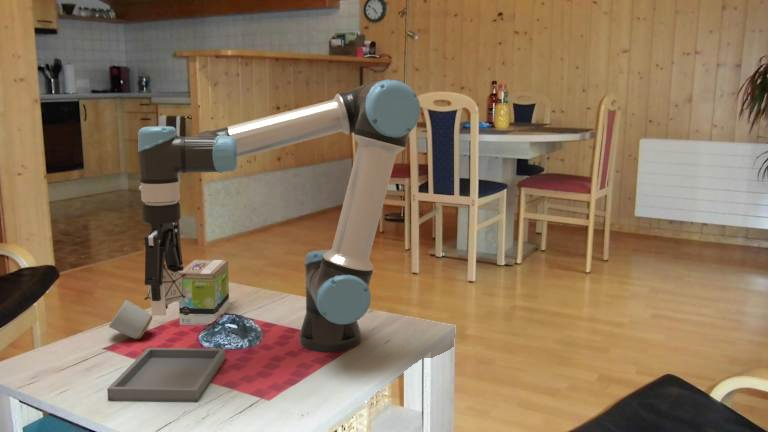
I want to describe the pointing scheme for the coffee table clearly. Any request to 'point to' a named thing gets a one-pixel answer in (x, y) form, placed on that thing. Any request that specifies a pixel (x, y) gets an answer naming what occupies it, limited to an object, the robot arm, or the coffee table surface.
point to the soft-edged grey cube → (131, 320)
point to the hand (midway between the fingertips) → (166, 307)
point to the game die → (171, 286)
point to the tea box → (204, 292)
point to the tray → (167, 375)
